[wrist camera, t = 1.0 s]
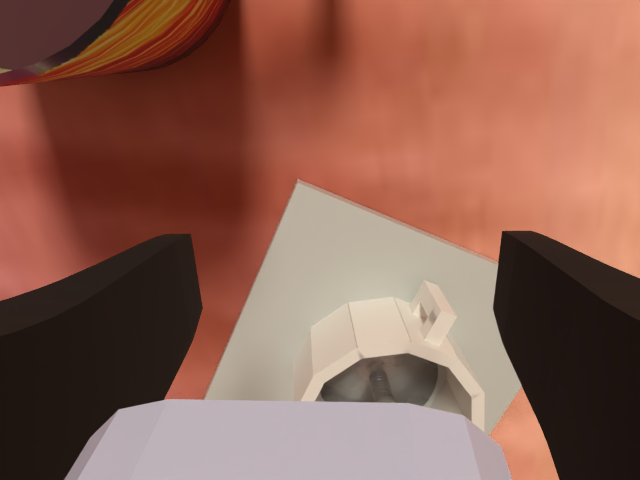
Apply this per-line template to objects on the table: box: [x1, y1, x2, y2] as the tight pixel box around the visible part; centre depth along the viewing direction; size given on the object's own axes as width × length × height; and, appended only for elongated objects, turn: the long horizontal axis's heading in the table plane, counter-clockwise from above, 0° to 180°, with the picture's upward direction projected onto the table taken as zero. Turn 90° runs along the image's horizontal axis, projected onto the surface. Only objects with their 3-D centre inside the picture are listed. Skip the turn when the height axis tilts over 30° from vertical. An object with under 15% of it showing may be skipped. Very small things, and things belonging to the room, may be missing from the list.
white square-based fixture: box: [203, 179, 522, 436], centre depth 26 cm, size 16×16×5 cm
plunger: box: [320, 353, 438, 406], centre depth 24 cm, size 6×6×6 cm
